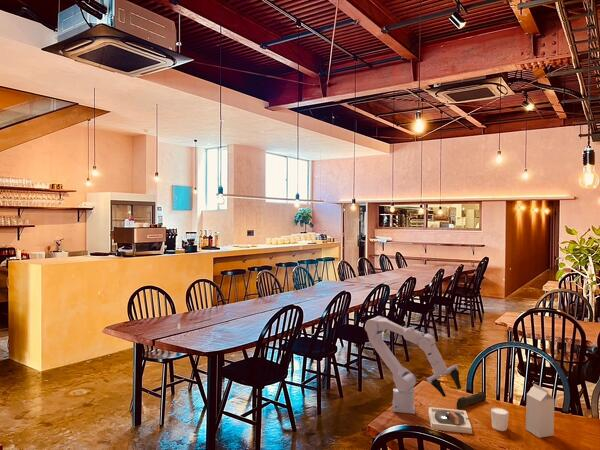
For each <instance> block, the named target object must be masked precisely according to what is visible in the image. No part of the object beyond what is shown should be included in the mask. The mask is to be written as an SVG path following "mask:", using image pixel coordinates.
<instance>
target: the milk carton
mask: <svg viewBox="0 0 600 450" xmlns="http://www.w3.org/2000/svg"><path fill="white" fill-rule="evenodd" d="M525 406H526V411H525V412H526V413H525V430H526V431H528V432H529V433H531V434H533V435H534V436H536V437H537V438H539V439H541V438H545V437H546V438H547V437H551V436H552V437H553V436H554V430H555V429H554V427H555V426H554V425H555V398H554V396H552V395H551V394H550V393H549V390H548V389H547V388H544V387H542V386H540V385H537V384H536V383H533V386H532V387H531V389H529V391H528V392H527V393H526V405H525Z"/></svg>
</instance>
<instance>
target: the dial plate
mask: <svg viewBox="0 0 600 450" xmlns="http://www.w3.org/2000/svg"><path fill="white" fill-rule="evenodd" d="M442 410H447V411H453V412H456V413H459V414H460V415H462V416H463V417H464V423H463V424H461V425H450V424H443V423H440V422H439V421H437V420H436V419H435V413H436V412H437V411H442ZM427 412H428V419H429V424H430V429H431V430H435V431H446V432H456V433H462V434H463V433H464V434H472V435H473V430H472V425H471V422H470V418H469V417H468V414H467V411H466V410H463V409H461V410H460V409H452V408H443V407H441V408H440V407H432V406H429V407H428V411H427Z"/></svg>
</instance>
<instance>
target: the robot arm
mask: <svg viewBox="0 0 600 450" xmlns="http://www.w3.org/2000/svg"><path fill="white" fill-rule="evenodd" d="M364 330H365V332H366V334H367V338H368V341H369V343H370V345H371V346H372V347H373V349H374V350H375V352H376V353H377V354H378V355H379V357H380V358H381V359H382V361H383V362H384V363H385V365H386V366H387V368H388V369H389V370H390V372H391V373H392V381H393V383H394V384H395V388H393V389H392V390H393V392H392V396H393V398H392V412H394V413H395V412H396V413H404V414H412V415H415V414H416V409H415V387H414V386H415V385H416V383H417V377H416V375H415V374H413V373H412V372H411V371H410V370H409V369H408V368H406V367H404V366H403V365H402V364H401V363H400V361H399V360H398V359H397V358H396V356H395V355H394V354H393V352H392V351H391V349H390V348H389V347H388V344H386V343H385V342H384V340H383V339H382V337H383V332H384V331H385V330H388V331H390V332H392V333H396V334H397V335H401V336H403V338H404V340H406V341H408V342H411V343H412V344H415V345H417V346H418V347H419V348H420V350H422V351H423V352H424V354H425V357H426V358H427V360H428V362H429V364H430V366H431V368H432V370H433V372H434V374H432V375H431V376H429V377H427V378H426V381H427V383H428V384H430V385H431V386H433V387H434V389H436V390H437V391H438V392H439V394H441V396H442V397H444V398H446V397H447V395H446V392H445V391H444V389H443V386H442V384H441V382H440V380H439V379H441V378H443V377H444V376H446V375H448V374H449V376H450V377H451V378H452V380H453V381H454V385H455V386H456V388H457V389H458V390H461V389H462V386H461V382H460V371H459V369H460V368H459V367H458V365H457V364H453V365H451V366H449V367H447V364H446V362H445V361H444V359H443V356H442V355H441V352H440V350H439V348H438V347H437V344H436V339H435V336H434V335H432V334H431V333H425V332H423V331H422V332H421V331H419V330H416V329H415V327H413V326H412V327H409V326H408V327H407V328H405V327H403V326H401V325H400V324H398V323H395V322H393V321H392V320H389V319H388V318H387V317H384V316H381V315H377V316H375V317H373V318H370V319H368V320H366V322H365V326H364Z"/></svg>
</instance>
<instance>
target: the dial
mask: <svg viewBox="0 0 600 450" xmlns="http://www.w3.org/2000/svg"><path fill="white" fill-rule="evenodd" d="M435 419H436V420H437V421H439V422H440V423H443V424H450V425H461V424H463V423H464V417H463V416H462V415H460V414H459V413H456V412H453V411H447V410H442V411H437V412H436V413H435Z"/></svg>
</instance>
